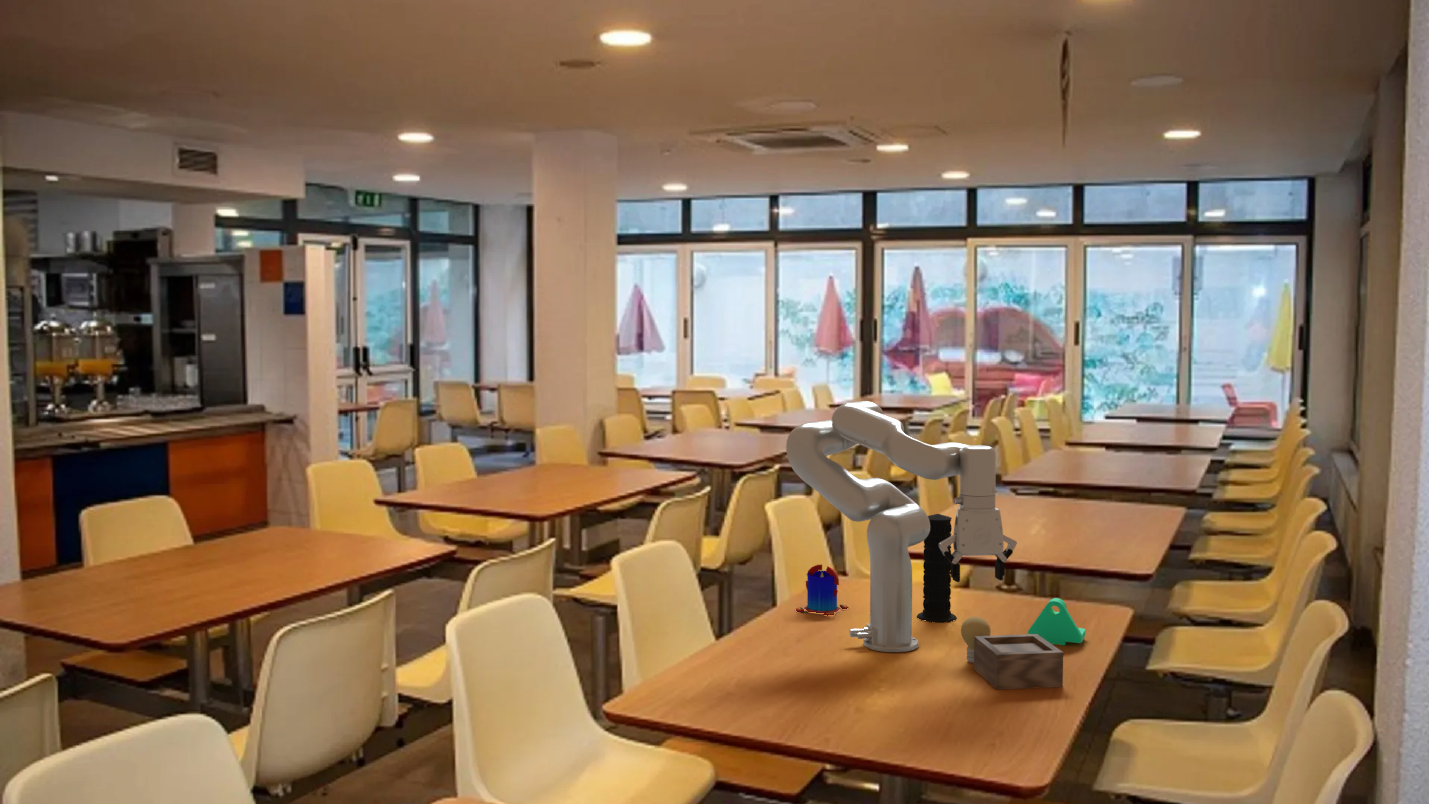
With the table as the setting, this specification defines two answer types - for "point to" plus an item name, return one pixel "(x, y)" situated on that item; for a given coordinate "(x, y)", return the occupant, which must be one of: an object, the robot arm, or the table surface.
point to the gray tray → (1018, 661)
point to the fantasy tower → (822, 591)
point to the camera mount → (1057, 625)
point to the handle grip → (937, 573)
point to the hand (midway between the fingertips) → (977, 580)
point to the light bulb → (973, 633)
